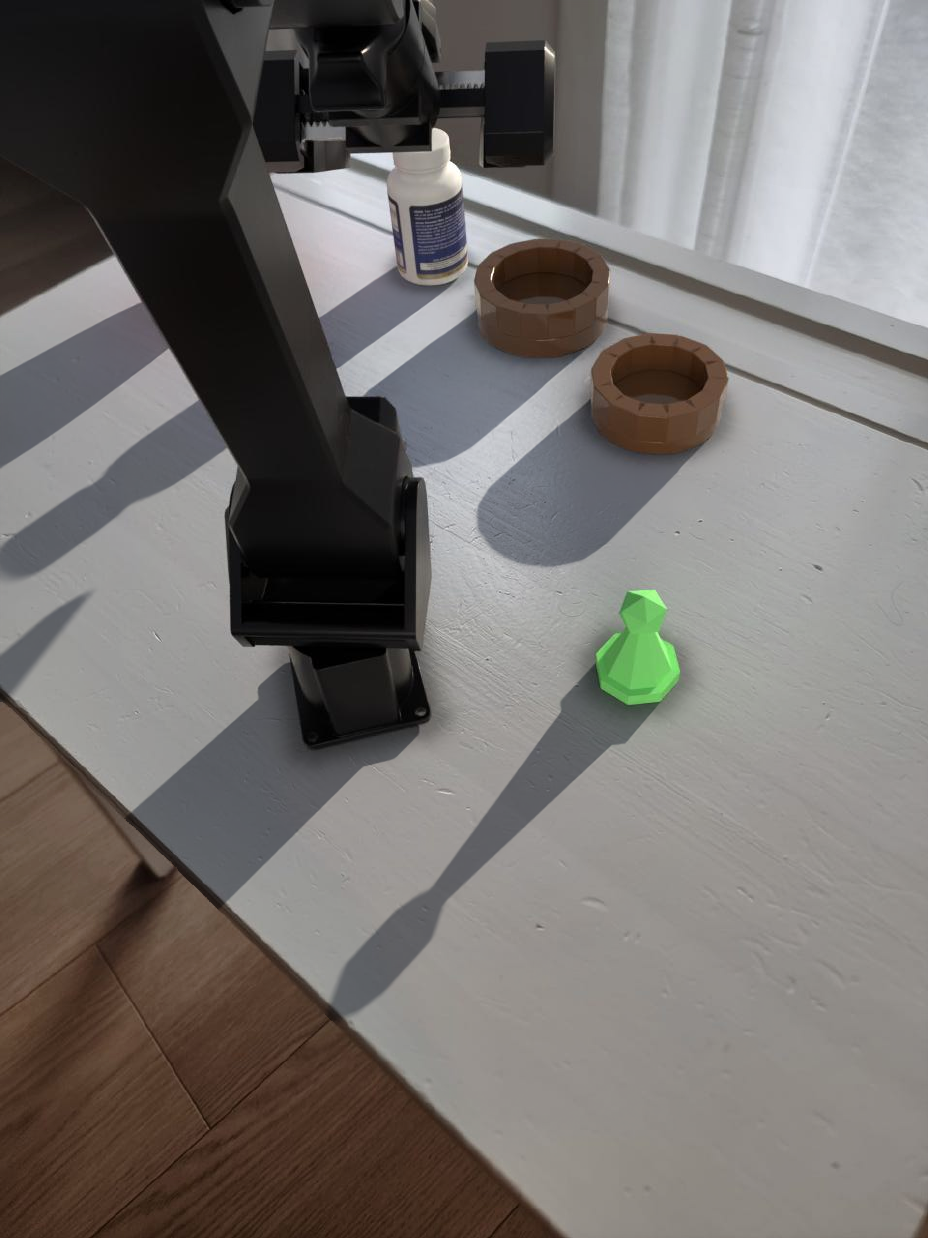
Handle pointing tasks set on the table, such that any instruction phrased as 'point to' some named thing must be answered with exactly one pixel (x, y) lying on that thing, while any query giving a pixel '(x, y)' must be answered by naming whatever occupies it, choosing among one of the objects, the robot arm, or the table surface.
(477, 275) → the stand
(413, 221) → the pill bottle
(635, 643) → the game piece
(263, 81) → the robot arm
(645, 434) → the small stand
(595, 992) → the table surface
